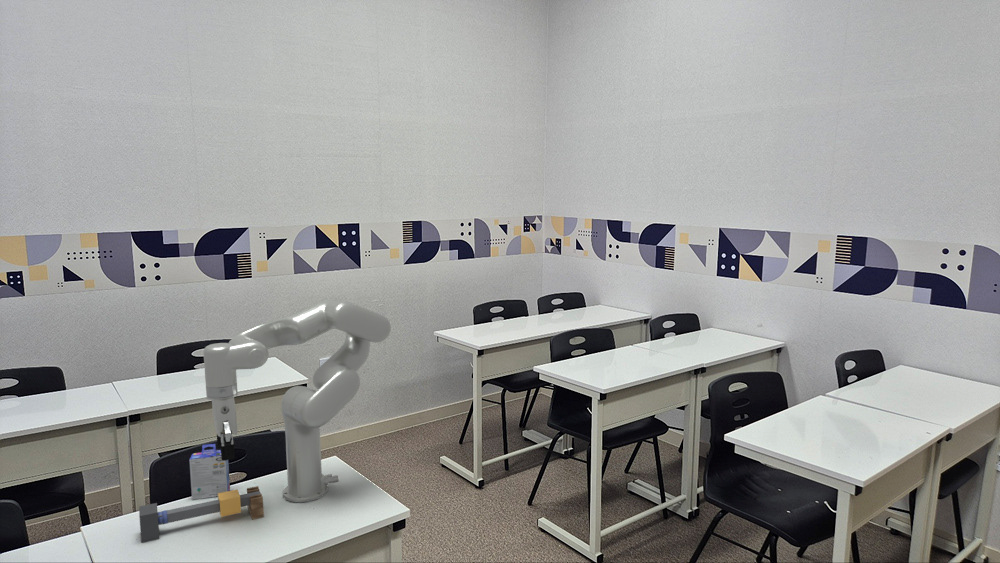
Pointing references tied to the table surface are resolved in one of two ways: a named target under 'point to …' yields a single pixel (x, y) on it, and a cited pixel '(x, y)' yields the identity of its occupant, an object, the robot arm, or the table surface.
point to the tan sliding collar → (229, 503)
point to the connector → (149, 522)
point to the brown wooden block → (256, 504)
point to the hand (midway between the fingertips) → (226, 453)
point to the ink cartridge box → (208, 473)
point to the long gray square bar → (200, 509)
